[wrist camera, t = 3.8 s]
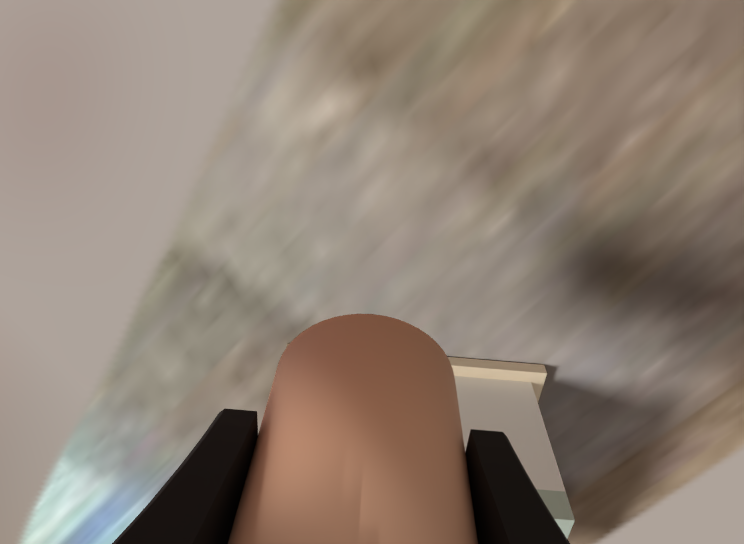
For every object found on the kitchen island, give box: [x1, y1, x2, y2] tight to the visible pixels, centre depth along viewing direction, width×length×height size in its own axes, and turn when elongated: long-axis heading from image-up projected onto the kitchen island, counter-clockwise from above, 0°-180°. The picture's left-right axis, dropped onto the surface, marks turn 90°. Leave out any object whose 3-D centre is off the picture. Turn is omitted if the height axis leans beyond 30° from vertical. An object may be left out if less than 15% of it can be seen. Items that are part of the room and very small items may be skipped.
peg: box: [228, 314, 478, 544], centre depth 10 cm, size 4×4×6 cm
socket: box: [286, 343, 575, 538], centre depth 21 cm, size 10×10×6 cm
